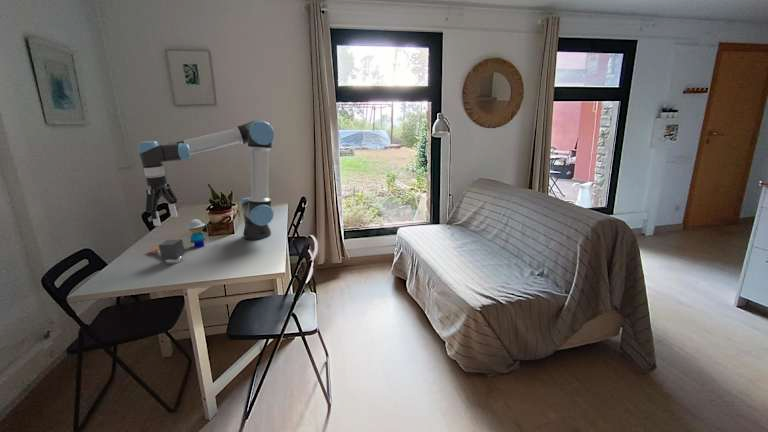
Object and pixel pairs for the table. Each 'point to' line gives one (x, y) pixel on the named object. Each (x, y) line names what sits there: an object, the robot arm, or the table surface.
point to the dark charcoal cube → (171, 249)
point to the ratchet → (172, 261)
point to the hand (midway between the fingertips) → (166, 221)
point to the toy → (197, 232)
